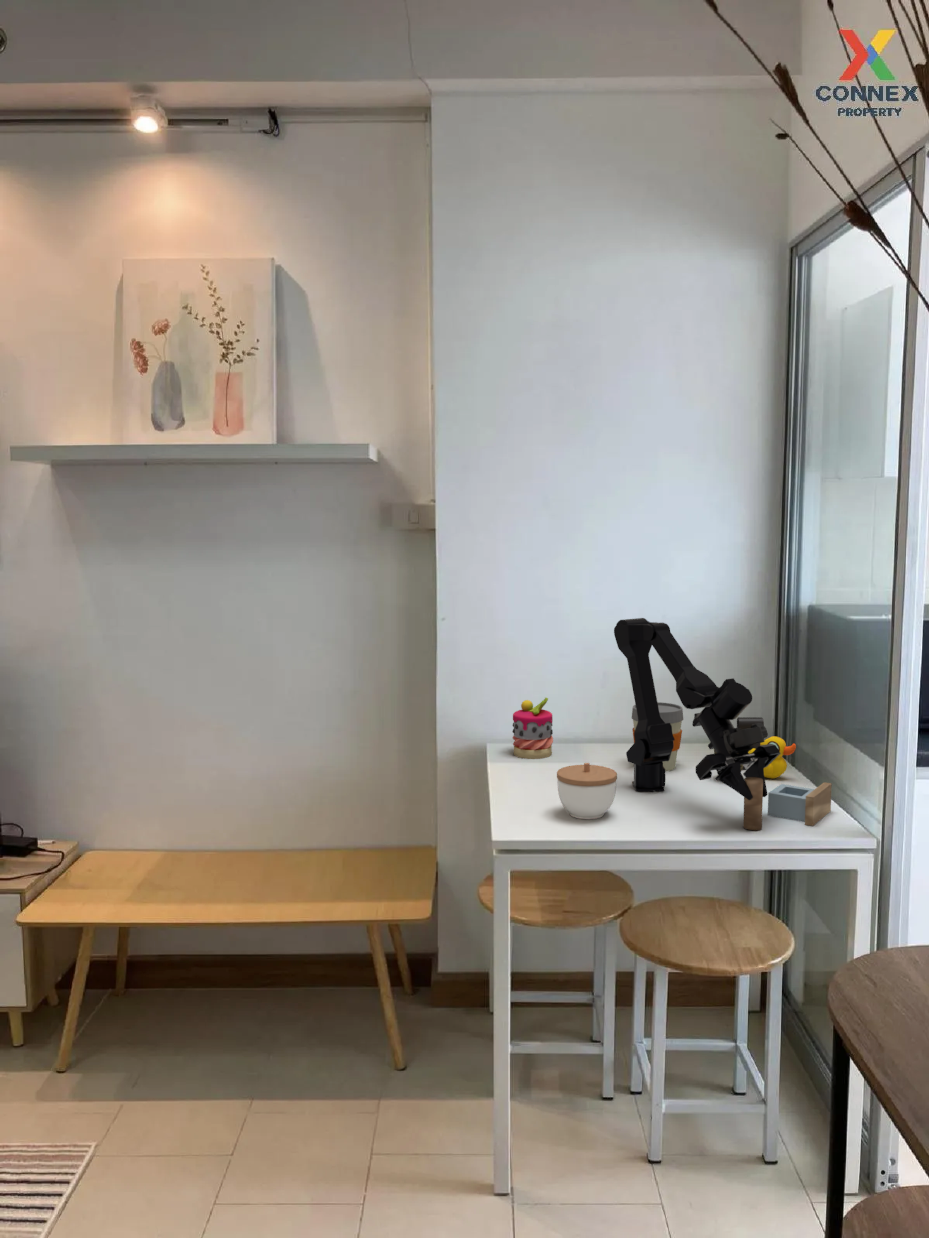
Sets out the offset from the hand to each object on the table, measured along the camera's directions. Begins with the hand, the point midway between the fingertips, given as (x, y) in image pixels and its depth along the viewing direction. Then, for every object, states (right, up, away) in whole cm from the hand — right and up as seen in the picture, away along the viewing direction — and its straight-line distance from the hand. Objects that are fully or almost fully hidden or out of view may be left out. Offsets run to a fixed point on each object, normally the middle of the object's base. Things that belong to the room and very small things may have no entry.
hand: (758, 797), depth 206 cm
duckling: (+14, -2, +38) cm, 41 cm away
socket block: (+11, -6, +11) cm, 16 cm away
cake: (-41, 0, +62) cm, 74 cm away
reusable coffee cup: (-11, -1, +49) cm, 50 cm away
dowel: (-1, -6, +2) cm, 7 cm away
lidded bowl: (-33, -6, +12) cm, 36 cm away
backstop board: (+15, -6, +8) cm, 18 cm away
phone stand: (+12, -1, +49) cm, 50 cm away
